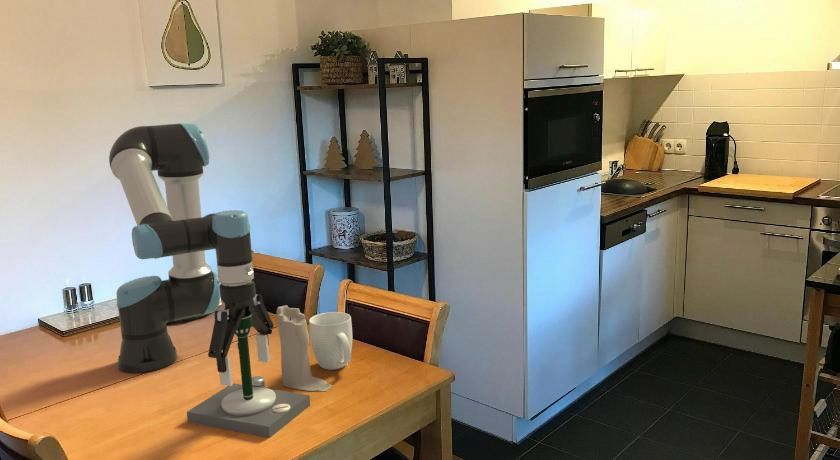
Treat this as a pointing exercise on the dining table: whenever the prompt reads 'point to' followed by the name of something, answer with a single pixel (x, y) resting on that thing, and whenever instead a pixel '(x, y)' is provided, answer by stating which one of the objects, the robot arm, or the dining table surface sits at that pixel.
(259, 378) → the spacer
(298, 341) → the candle
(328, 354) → the mug
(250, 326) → the flashlight
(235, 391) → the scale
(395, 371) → the dining table surface
